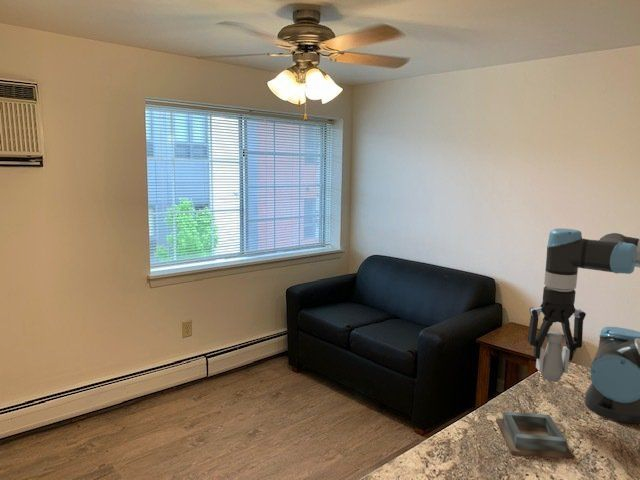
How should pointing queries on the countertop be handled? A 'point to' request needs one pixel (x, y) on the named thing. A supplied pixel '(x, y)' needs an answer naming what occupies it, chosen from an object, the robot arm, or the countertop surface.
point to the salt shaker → (553, 357)
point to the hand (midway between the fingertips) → (551, 370)
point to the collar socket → (533, 435)
